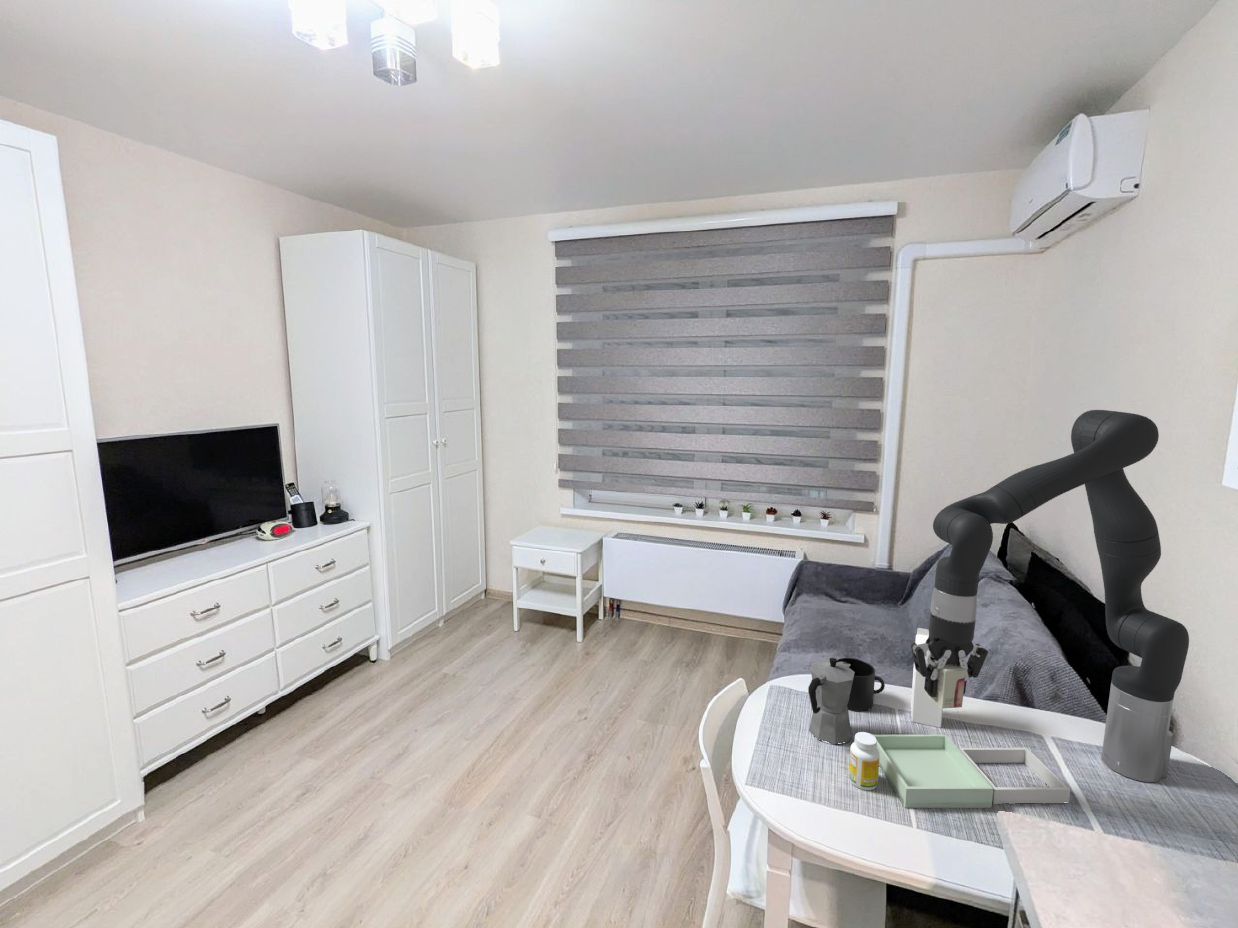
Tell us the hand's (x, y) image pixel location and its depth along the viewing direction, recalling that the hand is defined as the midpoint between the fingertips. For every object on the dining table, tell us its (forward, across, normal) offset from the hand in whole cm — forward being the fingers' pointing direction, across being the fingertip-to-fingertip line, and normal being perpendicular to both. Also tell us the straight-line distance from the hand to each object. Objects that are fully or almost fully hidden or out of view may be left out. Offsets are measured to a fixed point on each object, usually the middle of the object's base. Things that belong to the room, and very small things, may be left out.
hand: (943, 694), depth 111 cm
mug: (+19, +4, -28) cm, 33 cm away
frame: (+18, -14, +1) cm, 23 cm away
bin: (+18, +1, 0) cm, 18 cm away
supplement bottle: (+19, +14, 0) cm, 24 cm away
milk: (+18, -9, -20) cm, 29 cm away
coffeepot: (+19, +16, -15) cm, 29 cm away
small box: (+2, 0, 0) cm, 2 cm away
